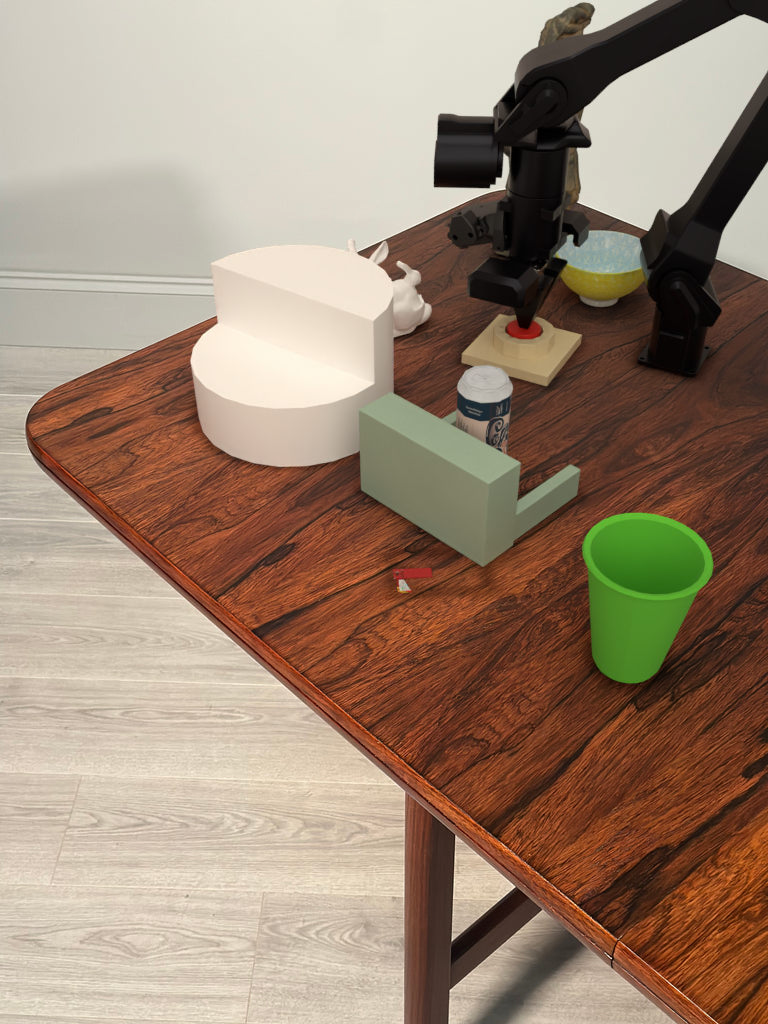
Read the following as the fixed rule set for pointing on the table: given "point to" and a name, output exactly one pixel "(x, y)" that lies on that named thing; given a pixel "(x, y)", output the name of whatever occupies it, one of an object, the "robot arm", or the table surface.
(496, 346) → the button box
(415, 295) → the rabbit figurine
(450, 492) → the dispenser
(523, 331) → the button
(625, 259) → the bowl
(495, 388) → the beer can
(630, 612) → the cup
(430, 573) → the toy pistol
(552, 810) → the table surface
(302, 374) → the white stepped cylinder
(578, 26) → the statue
